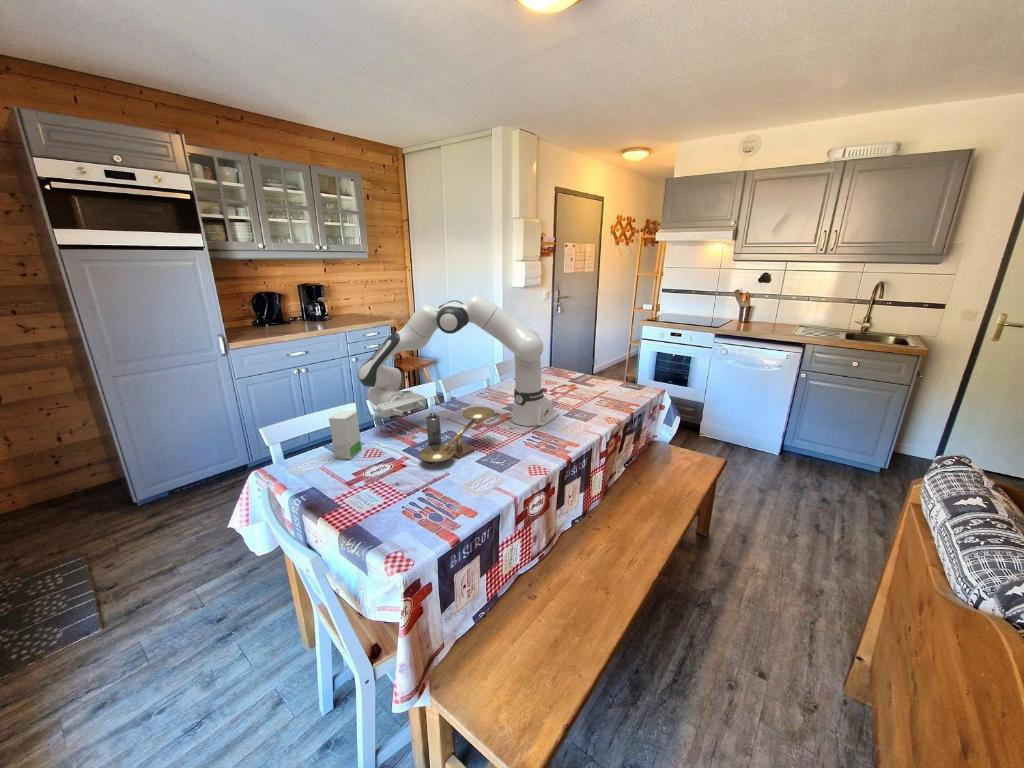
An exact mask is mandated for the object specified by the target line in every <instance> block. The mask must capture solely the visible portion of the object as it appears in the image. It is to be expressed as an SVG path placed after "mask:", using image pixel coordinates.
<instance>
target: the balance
mask: <svg viewBox="0 0 1024 768" xmlns="http://www.w3.org/2000/svg"><path fill="white" fill-rule="evenodd" d="M461 414H462V417H463V418H465V419H467V420H469V422H468V423H467V424H466V425H465V426H464V427H463V428H462V429H461V430H460V431H459V432H456V433H455V436H453V438H452V439H451V440H450V441H449V442H447V443H446V444H441V445H433V446H426V447H424V448H422V449H421V450H420V451H419V453H418V457H419V459H420V460H422V461H424V462H427V463H440V462H444V461H447V460H450V459H451V458H452V457H453V458H455V459H457V460H459V459H462V458H464V457H466V456H468V455H470V453H471V454H472V452H473V453H475V452H474V451H476V449H475V448H474V447H472V446H470V445H468V444H466V443H464V442H463V441H462V436H463V435H464V434H465V433H466V432H467V431H468V430H469V428H471V427H472V426H473V425H474V424H475V423H476V422H478V421H481V420H482V421H483V420H488V419H491V418H492V417H493V416H494V415H495V410H494V409H492V408H491V407H486V406H473V407H468V408H466V409H464V410H463V411H462V412H461ZM454 443H455V444H454Z"/></svg>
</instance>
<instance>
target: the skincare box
mask: <svg viewBox="0 0 1024 768" xmlns="http://www.w3.org/2000/svg"><path fill="white" fill-rule="evenodd" d="M328 422H329V429H330V434H331V441H332V447H333V455H334V459H339V460H351V459H353V458H352V457H355V456H356V455H358V454H359V453H360V452H362V451H361V450H363V448H362V441H361V433H360V423H359V418H358V411H356V410H341V411H339V412H337V413H334V414H333V415H331V416H330V417H328ZM357 453H358V454H357Z"/></svg>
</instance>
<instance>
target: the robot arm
mask: <svg viewBox="0 0 1024 768" xmlns="http://www.w3.org/2000/svg"><path fill="white" fill-rule="evenodd" d="M469 323H471V324H474V325H475V326H477V327H478V328H480V329H481V330H482V331H484V332H485V333H487V334H489V335H490V336H492V337H493V338H494V339H496V340H498V341H499V342H500V343H501V344H502V345H503V346H505V347H506V348H507V349H508V350H510V352H512V353H513V354H514V380H515V381H514V386H515V387H514V390H513V397H514V398H513V403H512V404H513V405H512V412H511V413H510V414H511V422H512V423H514V424H516V425H519V426H525V427H532V426H539V427H541V426H543V427H544V426H546V425H547V424H549V423H550V422H552V421H553V420H554V419H555V418H557V417H558V416H559V415H560V414H559V412H558V411H557V410H555V409H554V403H553V402H552V401H551V400H550V399H549V398H547V397H546V396H545V395H544V393H545V394H547V392H548V388H547V387H542V362H541V356H542V354H543V351H544V344H543V341H542V339H541V337H540V335H539V334H538V333H537V332H536V330H534V329H532V328H527V327H526V326H524V324H522V323H521V322H520V321H518V320H517V319H516V318H514V317H513V316H512V315H511V314H509V313H507V311H505V310H504V309H502V308H501V307H499V306H498V305H496V304H495V303H493V302H491V301H490V300H488V299H486V298H484V297H482V296H480V295H472V296H470V297H469V298H468V299H467V300H466V301H465V302H464V303H463V302H461V301H460V300H456V299H455V300H450V301H447V302H445V303H444V304H441V305H439V306H438V308H437V307H435V306H434V305H432V304H427V303H425V304H422V305H420V306H419V307H418V308H417V309H416V310H415V311H414V313H413V314H412V315H411V317H410V318H409V319H408V321H407V323H406V324H405V325H404V326H403V327H402V328H401V329H400V330H397V332H394V333H391V334H390V335H389V336H388V337H387V338H386V339H385V340H384V342H382V344H380V346H379V347H378V349H376V350H375V352H374V353H373V355H372V356H371V357H369V359H367V361H365V362H364V363H363V364H362V365H361V366H360V367H359V368H358V372H357V378H358V380H359V382H360V384H361V385H362V386H364V387H368V389H367V394H366V396H367V398H368V401H369V402H370V403H371V404H373V405H374V407H373V408H372V411H374V412H376V413H377V414H378V415H379V416H380V417H381V418H390V417H393V416H400V417H402V416H405V415H406V414H405V413H407V412H409V411H413V410H416V409H419V410H425V406H427V405H426V404H427V399H426V396H424V395H422V394H420V393H417V392H416V393H415V392H413V390H402V391H400V390H401V389H402V386H403V381H404V378H403V377H404V376H403V374H402V372H401V370H400V369H399V368H397V367H392V366H387V365H385V363H387V362H388V360H389V359H390V358H391V357H392V356H393V355H394V354H396V353H399V352H404V351H405V352H406V351H417V350H420V349H423V348H424V347H425V346H426V345H427V344H428V343H429V342H430V340H431V338H432V336H433V335H434V334H435V332H437V331H436V330H438V329H440V331H441V332H443V333H445V334H452V335H453V334H455V333H457V332H460V331H461V330H462V329H463V328H464V327H466V326H467V325H468V324H469Z"/></svg>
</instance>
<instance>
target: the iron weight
mask: <svg viewBox="0 0 1024 768" xmlns="http://www.w3.org/2000/svg"><path fill="white" fill-rule="evenodd" d="M440 418H441V417H440V415H438V414H437V413H436V412H430V413H429V414H428V416H426V418H425V419H426V421H425V423H426V431H427V432H426V433H427V445H428V446H427V447H429V446H433V445H442V435H441V434H442V431H441V419H440Z"/></svg>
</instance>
